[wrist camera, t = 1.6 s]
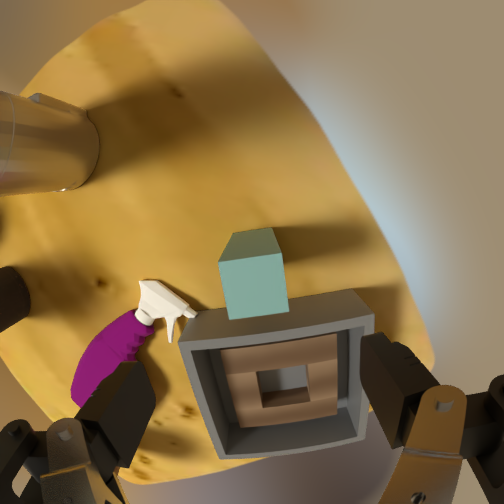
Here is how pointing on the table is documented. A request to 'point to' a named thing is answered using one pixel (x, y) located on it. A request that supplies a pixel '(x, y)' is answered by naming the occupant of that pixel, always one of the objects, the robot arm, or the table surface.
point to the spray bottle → (126, 337)
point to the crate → (279, 374)
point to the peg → (253, 275)
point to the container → (12, 298)
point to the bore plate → (290, 400)
